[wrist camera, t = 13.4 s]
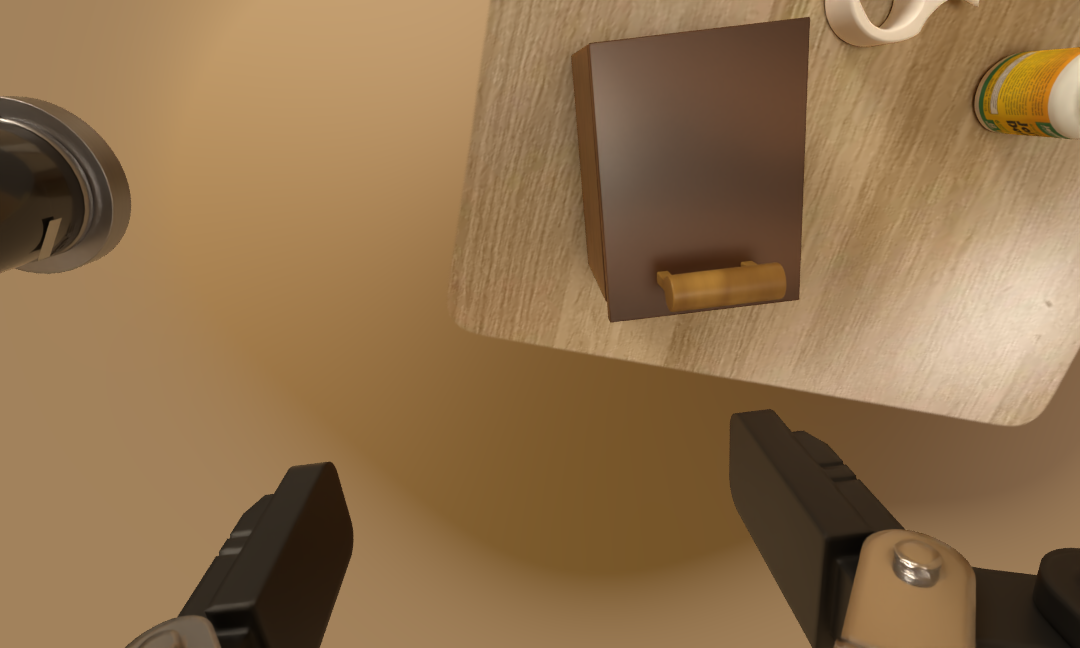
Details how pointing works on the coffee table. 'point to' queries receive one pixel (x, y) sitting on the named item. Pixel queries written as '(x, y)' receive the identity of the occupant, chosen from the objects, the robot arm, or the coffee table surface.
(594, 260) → the chest
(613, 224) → the lid
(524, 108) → the coffee table surface
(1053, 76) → the supplement bottle
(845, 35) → the white brass knuckles
